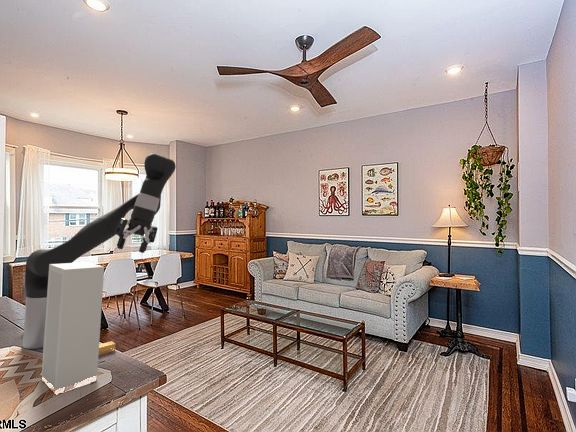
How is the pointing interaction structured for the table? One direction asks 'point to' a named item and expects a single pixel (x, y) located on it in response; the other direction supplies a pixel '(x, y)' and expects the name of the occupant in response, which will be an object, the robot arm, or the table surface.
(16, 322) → the table surface
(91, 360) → the tall grey pillar
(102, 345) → the grey paddle with handle
